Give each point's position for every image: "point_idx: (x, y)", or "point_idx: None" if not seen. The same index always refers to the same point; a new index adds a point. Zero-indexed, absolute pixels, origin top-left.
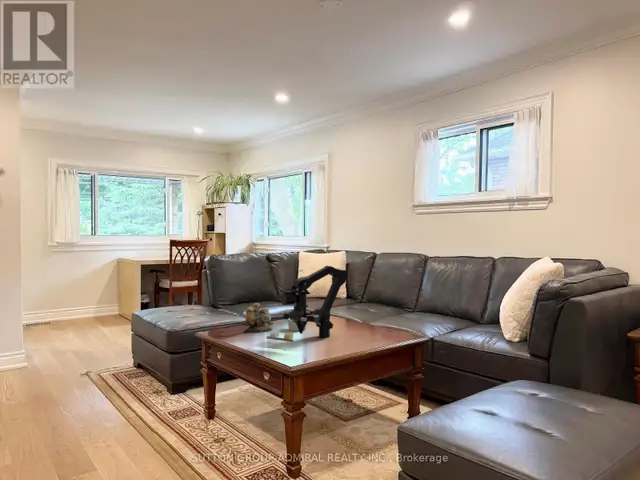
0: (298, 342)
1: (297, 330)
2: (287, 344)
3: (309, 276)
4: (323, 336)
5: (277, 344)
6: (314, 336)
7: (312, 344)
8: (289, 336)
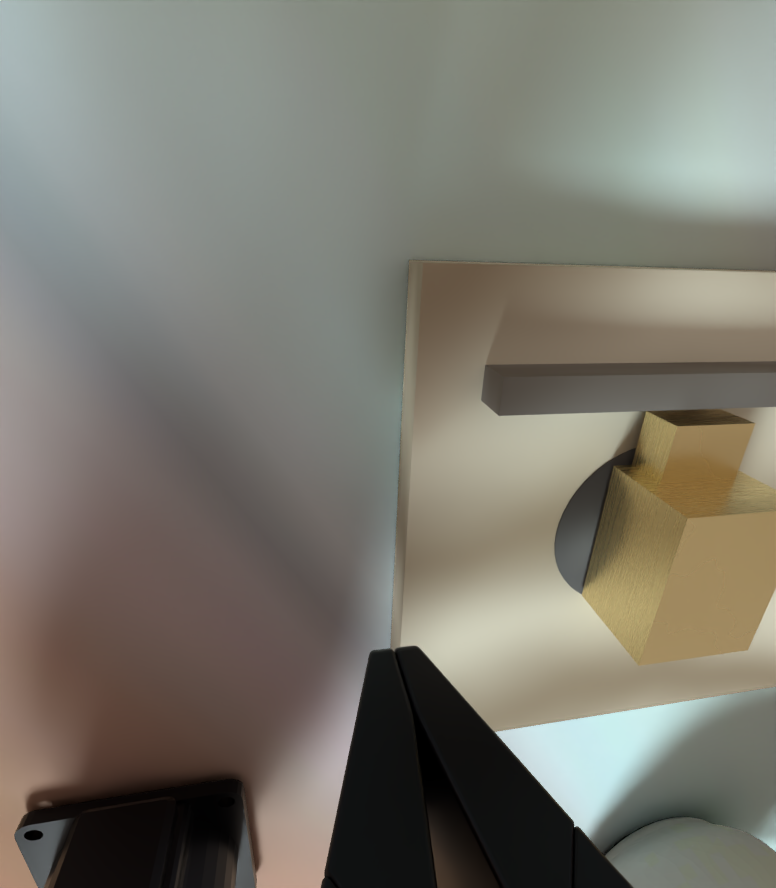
0: None
1: (657, 866)
2: None
3: None
4: (52, 881)
5: (749, 174)
6: None
7: (74, 535)
8: (652, 510)
